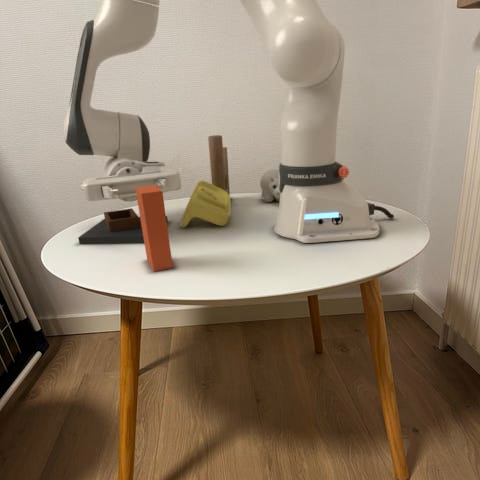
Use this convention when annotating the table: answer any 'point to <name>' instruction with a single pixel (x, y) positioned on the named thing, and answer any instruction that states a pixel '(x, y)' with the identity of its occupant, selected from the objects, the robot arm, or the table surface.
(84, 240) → the base pad
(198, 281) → the table surface
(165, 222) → the orange rectangular block
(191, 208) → the plastic component
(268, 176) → the round bodied animal figurine
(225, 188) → the wooden block
